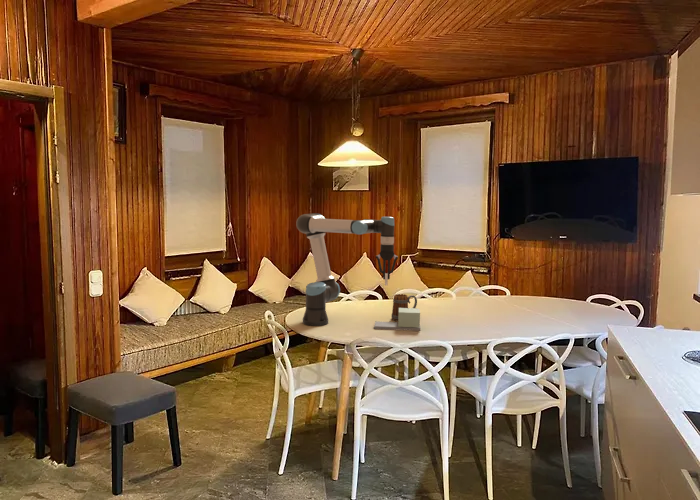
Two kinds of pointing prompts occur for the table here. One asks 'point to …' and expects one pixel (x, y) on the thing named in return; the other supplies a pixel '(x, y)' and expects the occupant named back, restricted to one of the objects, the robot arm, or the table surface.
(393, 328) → the housing base
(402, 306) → the mug
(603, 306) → the table surface
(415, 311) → the cover
